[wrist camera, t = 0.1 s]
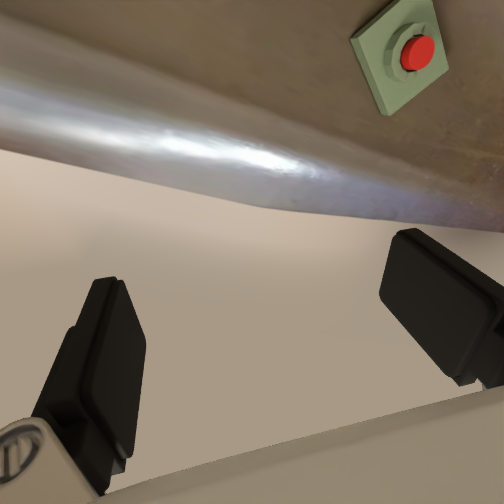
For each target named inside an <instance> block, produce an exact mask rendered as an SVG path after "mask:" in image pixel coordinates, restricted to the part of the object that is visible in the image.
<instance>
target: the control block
mask: <svg viewBox="0 0 504 504" xmlns="http://www.w3.org/2000/svg"><path fill="white" fill-rule="evenodd" d="M421 36H429V37H431V38H432V39H433V41H434V45H435V50H434V55H433V57H432V59H431V61H430V62H429V64H428V65H427V66H425V67H424V68H422V69H420V70H407V69H405V68H404V67H403V66H402V64H401V53H402V50H403V48H404V46H405V45H406V43H407V42H408V41H409V40H411V39H412V38H414V37H421ZM350 41H351V43H352V45H353V48H354V50H355V53H356V55H357V57H358V60H359V62H360V65H361V67H362V69H363V72H364V74H365V77H366V79H367V81H368V84H369V86H370V88H371V91H372V93H373V96H374V98H375V100H376V103H377V105H378V108H379V110H380V112H381V114H382V115H386V116H391V115H392V114H393V113H394V112H396V111H397V110H398V109H399V108H401V107H402V106H403V105H404V104H406V103H407V102H408V101H409V100H411V99H412V98H413V97H414V96H416V95H417V94H418V93H419V92H421V91H422V90H423V89H424V88H426V87H427V86H428V85H429V84H431V83H432V82H433V81H434V80H436V79H437V78H438V77H439V76H441V75H442V74H443V73H444V72H446V71H447V70H448V69H449V67H448V63H447V59H446V55H445V51H444V47H443V43H442V39H441V35H440V31H439V27H438V23H437V19H436V15H435V11H434V7H433V3H432V0H394V1H393V2H391V3H390V4H389V5H388V6H387V7H386V8H385V9H383V10H382V11H381V12H380V13H379V14H378V15H377V16H376V17H374V18H373V19H372V20H371V21H370V22H369V23H368V24H366V25H365V26H364V27H363V28H362V29H361V30H360V31H359V32H357V33H356V34H355V35H354V36H353V37H352V38H351V39H350Z"/></svg>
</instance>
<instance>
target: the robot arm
mask: <svg viewBox="0 0 504 504" xmlns="http://www.w3.org/2000/svg"><path fill="white" fill-rule="evenodd" d="M379 296H380V299H381V301H382V302H383V303H384V304H385V306H386V307H387V308H388V309H389V310H390V311H391V313H392V314H393V315H394V316H395V317H396V318H397V319H398V321H399V322H400V323H401V324H402V325H403V326H404V327H405V329H406V330H407V331H408V332H409V333H410V335H411V336H412V337H413V338H414V339H415V340H416V341H417V343H418V344H419V345H420V346H421V347H422V348H423V350H424V351H425V352H426V353H427V354H428V355H429V357H430V358H431V359H432V360H433V361H434V362H435V364H436V365H437V366H438V367H439V368H440V369H441V370H442V372H443V373H444V374H445V375H447V376H448V377H451V378H452V379H453V380H454V381H455V382H456V383H457V385H458V386H464V385H468V384H472V383H474V382H475V381H476V379H477V378H478V379H479V380H480V381H481V382H482V388H483V391H480V392H475V393H472V394H468V395H464V396H460V397H456V398H452V399H448V400H444V401H440V402H436V403H433V404H429V405H425V406H421V407H417V408H413V409H409V410H405V411H401V412H398V413H394V414H390V415H386V416H382V417H378V418H375V419H371V420H367V421H363V422H359V423H356V424H352V425H348V426H344V427H340V428H337V429H333V430H329V431H325V432H321V433H318V434H314V435H310V436H306V437H302V438H299V439H295V440H292V441H288V442H284V443H280V444H276V445H272V446H269V447H265V448H261V449H257V450H254V451H250V452H246V453H243V454H239V455H236V456H231V457H227V458H224V459H220V460H216V461H213V462H209V463H206V464H202V465H199V466H195V467H192V468H189V469H185V470H181V471H178V472H174V473H171V474H167V475H164V476H161V477H157V478H154V479H150V480H147V481H144V482H141V483H138V484H135V485H132V486H129V487H126V488H123V489H120V490H117V491H115V492H111V493H109V494H107V493H106V492H105V491H106V490H107V489H108V487H109V485H110V479H111V476H112V475H116V474H120V473H123V472H125V465H126V458H130V457H132V455H133V451H134V443H135V435H136V428H137V418H138V411H139V402H140V394H141V386H142V377H143V369H144V361H145V353H146V339H145V336H144V333H143V331H142V328H141V325H140V323H139V320H138V318H137V315H136V312H135V309H134V307H133V304H132V301H131V299H130V296H129V294H128V291H127V289H126V286H125V283H124V281H123V280H117V278H116V277H114V276H113V277H106V278H100V279H95V280H94V281H93V283H92V286H91V288H90V290H89V293H88V296H87V298H86V300H85V303H84V305H83V308H82V310H81V313H80V315H79V318H78V320H77V323H76V325H75V326H72V327H71V328H69V330H68V331H67V333H66V335H65V338H64V340H63V343H62V345H61V347H60V349H59V352H58V354H57V356H56V359H55V361H54V363H53V366H52V368H51V370H50V373H49V375H48V377H47V380H46V382H45V384H44V387H43V389H42V391H41V394H40V396H39V399H38V401H37V403H36V405H35V408H34V410H33V413H32V415H31V417H29V418H23V419H20V420H17V421H15V422H12V423H10V424H9V425H7V426H5V427H4V428H2V429H1V430H0V504H504V287H503V286H502V285H500V284H499V283H497V282H496V281H495V280H493V279H491V278H490V277H489V276H487V275H486V274H484V273H483V272H481V271H480V270H478V269H477V268H475V267H474V266H472V265H471V264H469V263H468V262H466V261H465V260H463V259H462V258H460V257H459V256H458V255H456V254H455V253H453V252H452V251H450V250H449V249H447V248H446V247H444V246H443V245H441V244H440V243H438V242H437V241H435V240H434V239H432V238H431V237H429V236H428V235H426V234H425V233H424V232H422V231H421V230H419V229H417V228H411V229H405V230H400V231H398V232H397V233H396V235H395V236H394V237H393V239H392V242H391V246H390V250H389V254H388V258H387V262H386V266H385V270H384V274H383V278H382V282H381V286H380V290H379Z"/></svg>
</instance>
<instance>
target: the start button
mask: <svg viewBox="0 0 504 504" xmlns="http://www.w3.org/2000/svg"><path fill="white" fill-rule="evenodd" d="M434 50H435V45H434V41H433V39H432V38H431V37H429V36H421V37H414V38H412V39H411V40H409V41H408V42H407V43H406V45H405V46H404V48H403V50H402V53H401V64H402V66H403V67H404V68H405V69H407V70H420V69H422V68H424V67H425V66H427V65H428V64H429V62H430V61H431V59H432V57H433V55H434Z"/></svg>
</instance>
